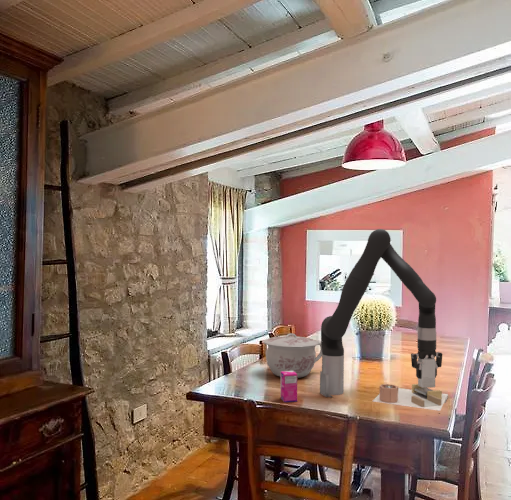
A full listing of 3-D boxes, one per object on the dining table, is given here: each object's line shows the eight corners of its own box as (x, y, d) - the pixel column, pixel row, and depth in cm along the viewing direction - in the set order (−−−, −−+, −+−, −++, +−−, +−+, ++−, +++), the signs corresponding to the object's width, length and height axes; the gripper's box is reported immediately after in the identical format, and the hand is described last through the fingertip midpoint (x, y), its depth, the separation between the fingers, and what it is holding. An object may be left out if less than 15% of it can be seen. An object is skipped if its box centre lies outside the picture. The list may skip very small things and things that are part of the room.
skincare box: (431, 385, 224) (431, 356, 224) (435, 388, 219) (436, 358, 219) (417, 385, 223) (417, 356, 223) (421, 388, 219) (421, 359, 219)
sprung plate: (425, 395, 216) (425, 393, 216) (414, 390, 224) (414, 388, 224) (438, 394, 218) (438, 392, 218) (426, 389, 226) (426, 387, 226)
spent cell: (387, 400, 212) (387, 386, 212) (383, 398, 215) (384, 384, 215) (393, 399, 213) (393, 386, 213) (390, 398, 215) (390, 384, 215)
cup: (385, 403, 209) (385, 389, 209) (376, 398, 216) (377, 384, 216) (400, 401, 211) (401, 388, 211) (391, 397, 218) (391, 383, 218)
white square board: (372, 404, 212) (372, 392, 212) (386, 389, 235) (386, 378, 235) (440, 413, 200) (440, 401, 200) (448, 397, 224) (448, 386, 224)
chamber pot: (254, 378, 251) (254, 335, 251) (273, 367, 277) (274, 327, 277) (311, 385, 241) (311, 339, 241) (325, 372, 267) (326, 331, 267)
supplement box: (279, 398, 218) (280, 371, 218) (293, 397, 220) (293, 370, 220) (283, 402, 213) (284, 374, 213) (297, 401, 214) (298, 373, 214)
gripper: (417, 340, 215) (416, 381, 215) (447, 338, 220) (446, 378, 220) (406, 337, 223) (406, 376, 223) (436, 336, 227) (435, 374, 227)
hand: (426, 377), depth 221 cm, fingers closed on skincare box, 6 cm apart
